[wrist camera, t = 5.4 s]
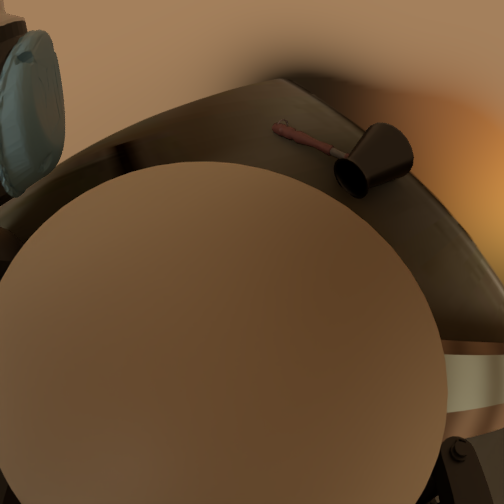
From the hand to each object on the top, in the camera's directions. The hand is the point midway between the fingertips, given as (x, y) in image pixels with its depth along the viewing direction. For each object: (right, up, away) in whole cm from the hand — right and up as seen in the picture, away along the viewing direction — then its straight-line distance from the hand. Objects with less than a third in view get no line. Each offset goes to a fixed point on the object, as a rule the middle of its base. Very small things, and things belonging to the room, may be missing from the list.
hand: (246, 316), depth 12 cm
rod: (-1, -6, +2) cm, 6 cm away
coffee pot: (+11, +15, +22) cm, 29 cm away
